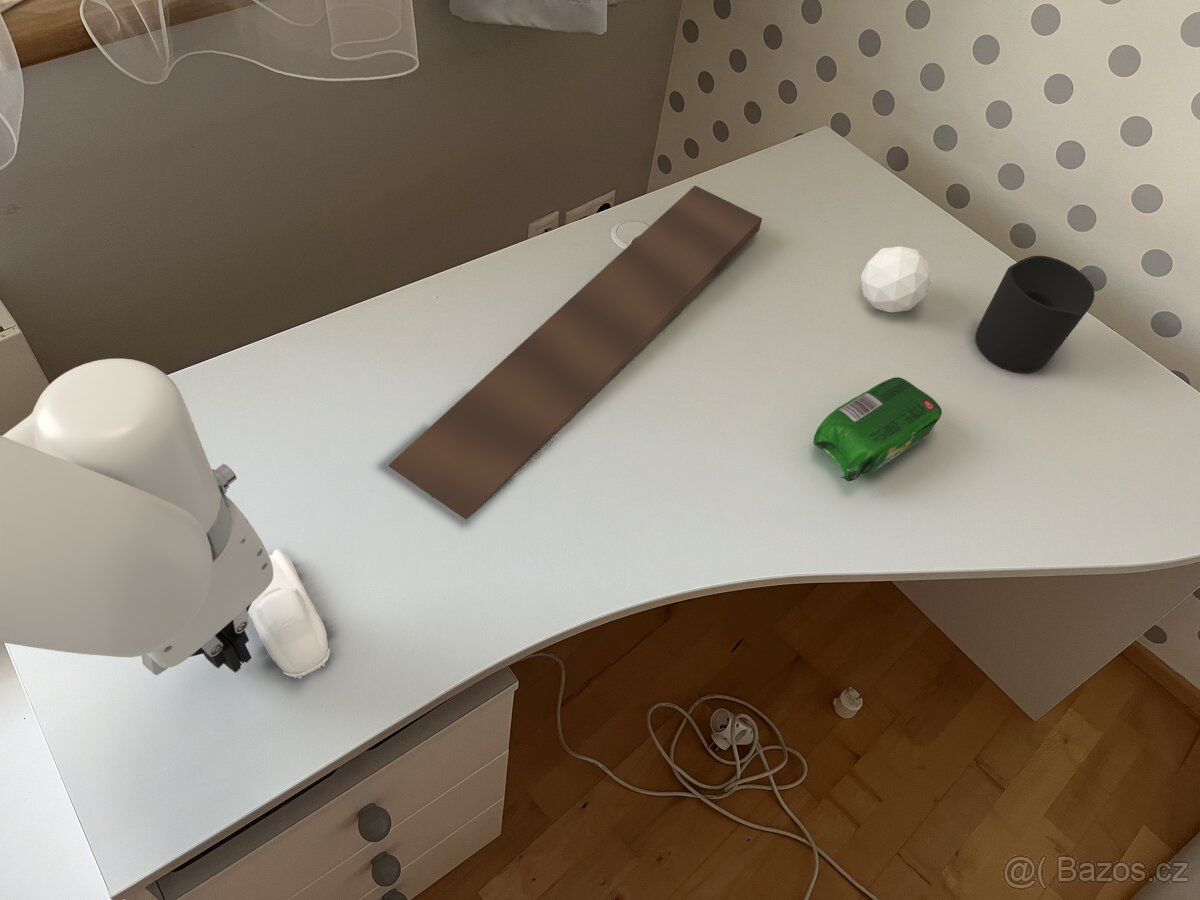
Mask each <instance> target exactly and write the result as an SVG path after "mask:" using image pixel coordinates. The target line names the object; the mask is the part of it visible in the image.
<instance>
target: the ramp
mask: <svg viewBox="0 0 1200 900" xmlns="http://www.w3.org/2000/svg"><path fill="white" fill-rule="evenodd" d="M762 221H763V218H762V217H761V216H758V215H757V214H754V213H753V212H751V211H748V210H747V209H744V208H742V207H740V206H738V205H736V204H734V203H732V202H730V201H728V200H726V199H724V198H722V197H720V196H718V195H716V194H714V193H711V192H710V191H708V190H705V189H703V188H702V187H699V186H697V185H694V186H693V187H691V188H690V189H689V190H688V191H686V193H684V195H683V196H682V197H681V198H680V199H678V200H677V201H676V202H675V203H673V205H671V207H669V208H668V209H667V210H666V211H665V212H664V213H662V215H660V216H659V218H657V219H656V220H655V221H654V222H653V223H652V224H651V225H650V226H649V227H647V229H645V230H644V231H643V232H642V233H641V234H640V235H639V236H637V237H636V239H634V240H633V241H632V242H631V243H630V244H629V245H628V246H626V248H624V249H623V250H622V251H621V252H620V253H618V255H617V256H615V258H614V259H612V260H611V261H610V262H609V263H608V264H607V265H606V266H605V267H603V268H602V270H600V271H599V272H598V273H597V274H596V275H595V276H593V278H591V280H590V281H588V282H587V283H586V284H585V285H583V286H582V287H581V289H579V290H578V291H577V292H576V293H575V294H574V295H573V296H572V297H571V298H569V300H567V301H566V302H565V303H564V304H563V305H562V306H561V307H560V308H559V309H557V310H556V311H555V312H554V313H553V314H552V315H551V316H550V317H549V318H547V320H546V321H545V322H543V323H542V324H541V325H540V326H539V327H538V328H537V329H536V330H535V331H534V332H532V333H531V334H530V335H528V337H527V338H526V339H524V341H523V342H521V343H520V344H519V345H518V346H517V347H516V348H515V349H514V350H513V351H512V352H511V353H510V354H508V355H507V356H506V357H505V358H504V359H503V360H501V362H499V363H498V364H497V365H496V366H495V367H494V368H493V369H492V370H491V371H490V372H489V373H487V374H486V375H485V376H483V378H482V379H481V380H479V382H478V383H476V384H475V385H474V386H473V387H472V388H471V389H469V391H468V392H467V393H466V394H464V396H462V397H461V398H460V399H459V400H458V401H457V402H456V403H454V405H452V406H451V407H450V408H449V409H448V410H447V411H446V412H445V413H444V414H443V415H442V416H440V417H439V418H438V419H437V420H436V421H435V422H433V424H432V425H430V426H429V427H428V428H427V429H426V430H425V431H424V432H423V433H422V434H420V435H419V436H418V437H417V438H416V439H415V440H414V441H413V442H412V443H410V444H409V446H408V447H406V448H405V449H404V450H403V451H402V452H401V453H399V455H397V456H396V457H395V458H394V459H393V460H392V461H391V462H390V463H389V464H388V465H387V466H388V467H389V468H390V469H392V470H393V471H395V472H396V473H397V474H399V475H400V476H402V477H403V478H404V479H406V480H407V481H409V482H410V483H412V484H414V485H415V486H417V487H418V488H419V489H421V490H422V491H423V492H425V493H427V494H428V495H429V496H431V497H432V498H434V499H435V500H437V501H438V502H439V503H441V504H442V505H444V506H446V507H447V508H449V509H450V510H451V511H453V512H454V513H456V514H457V515H458V516H460V517H461V518H463V519H464V520H468V519H470V518H471V516H473V514H475V513H476V512H477V511H478V510H479V509H480V508H481V507H482V506H483V505H484V504H485V503H486V502H487V501H488V500H489V499H490V498H492V497H493V495H494V494H495V493H497V492H498V491H499V489H501V488H502V487H503V486H504V485H505V484H506V483H507V482H508V481H509V480H510V479H511V478H512V477H513V476H514V475H515V474H516V473H518V471H519V470H520V469H521V468H522V467H523V466H525V464H527V462H529V461H530V459H531V458H533V457H534V456H535V455H536V454H537V453H538V452H539V451H540V450H541V449H542V448H543V447H544V446H545V445H546V444H547V443H548V442H550V440H551V439H552V438H553V437H554V436H555V435H557V434H558V432H559V431H561V430H562V428H564V427H565V426H566V425H567V424H568V423H569V422H570V421H572V419H573V418H574V417H575V416H576V415H577V414H578V413H579V412H580V411H582V409H584V408H585V406H586V405H587V404H588V403H590V402H591V401H592V400H593V399H594V398H595V397H596V396H597V395H598V394H599V393H600V392H601V391H602V390H603V389H604V388H605V387H606V386H607V385H608V384H609V383H610V382H611V381H612V380H613V379H615V377H616V376H617V375H619V374H620V373H621V372H622V371H623V370H624V369H625V368H626V367H627V366H628V365H629V364H630V363H631V362H632V361H634V359H635V358H636V357H637V356H638V355H639V354H640V353H641V352H642V351H644V350H645V348H646V347H647V346H648V345H650V344H651V343H652V342H653V340H655V339H656V338H657V337H658V335H659V334H661V332H663V330H664V329H665V328H666V327H667V326H668V325H669V324H670V323H671V322H672V321H673V320H674V319H675V318H676V317H677V316H678V315H679V314H680V313H681V312H682V311H683V310H684V309H685V308H686V307H687V306H688V305H689V304H690V303H691V302H692V301H693V299H695V298H696V296H698V294H699V293H700V292H701V291H702V290H703V289H704V288H705V287H707V285H708V284H709V283H710V282H711V281H712V280H713V279H714V278H715V277H716V276H717V275H718V274H719V273H720V272H721V270H723V269H724V268H725V267H726V265H727V264H729V262H730V261H731V260H732V259H733V258H734V257H736V255H737V254H738V253H739V252H740V251H741V250H742V249H743V248H744V247H745V246H746V245H747V244H748V243H749V242H750V240H752V238H753V237H755V236H756V235H757V233H758V232H759V231H760V229H761V225H762Z"/></svg>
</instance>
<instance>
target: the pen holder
mask: <svg viewBox="0 0 1200 900" xmlns="http://www.w3.org/2000/svg"><path fill="white" fill-rule="evenodd" d="M1094 299H1095V288H1094V286H1093V284H1092V283H1091V281H1090V280H1089V279H1088V277H1087V276H1086V275H1084V274H1083V273H1082V272H1081V271H1080V270H1079V269H1077V268H1076V267H1074V266H1072V265H1071V264H1069V263H1068V262H1065V261H1063V260H1060V259H1058V258H1054V257H1051V256H1046V255H1032V256H1028V257H1026V258H1022V259H1020V260H1019V261H1017V262H1015V263H1013V264H1012V265H1010V266H1009V267H1008V268H1007V269H1006V271H1005V273H1004V275H1003V277H1002V279H1001V280H1000V282H999V285H998V287H997V288H996V291H995V293H994V295H993V296H992V298H991V301H990V303H989V304H988V306H987V308H986V310H985V312H984V314H983V316H982V318H981V319H980V322H979V325H978V326H977V328H976V331H975V343H976V345H977V347H978V349H979V351H980V352H981V353H982V355H983V356H984V357H985V358H986V359H987V360H989V361H990V362H991V363H993V364H994V365H996V366H998V367H1000V368H1002V369H1004V370H1008V371H1011V372H1015V373H1030V372H1035V371H1038V370H1040V369H1042V368H1044V367H1045V366H1046V365H1047V364H1048V363H1049V361H1050V360H1051V359H1052V358H1053V357H1054V355H1055V354H1056V352H1057V351H1058V350H1059V349H1060V347H1061V346H1062V345H1063V344H1064V343H1065V341H1066V339H1068V337H1069V336H1070V334H1071V333H1072V332H1073V331H1074V329H1075V328H1076V327H1077V325H1078V324H1079V323H1080V321H1081V320H1082V319H1083V318H1084V316H1085V315H1086V314H1087V312H1088V311H1089V309H1090V308H1091V307H1092V304H1093V303H1094Z"/></svg>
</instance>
